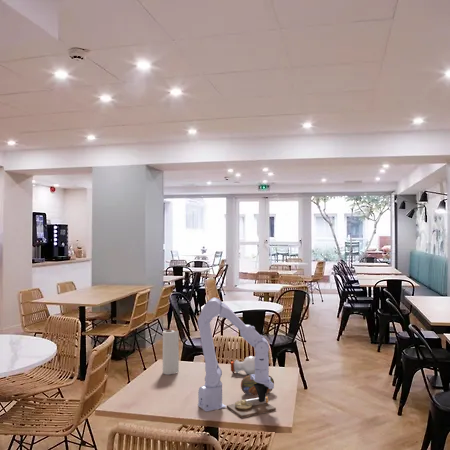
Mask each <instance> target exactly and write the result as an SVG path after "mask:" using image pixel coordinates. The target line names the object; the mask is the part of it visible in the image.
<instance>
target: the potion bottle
mask: <svg viewBox="0 0 450 450" xmlns="http://www.w3.org/2000/svg"><path fill="white" fill-rule="evenodd" d="M230 371H231V373H232V374H234V373H236V374H238V373H239V372H241V371H243V372H244V373H245V374H246V375H247V376H248V375H251V374H255V355H254V356H253V355H249V356H246V357H245V358H244V359H243V361H239V360H238V359H235V360H232V361H230Z"/></svg>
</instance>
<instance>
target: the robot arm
mask: <svg viewBox="0 0 450 450" xmlns="http://www.w3.org/2000/svg"><path fill="white" fill-rule="evenodd" d="M217 316H218V317H219V318H225V319H227V320H228V321H229V322H230V323H231V324H232V325H233V326H234V327H236V328H237V330H239V333H240V334H239V335H240V337H242V338H243V340H245V341H246V342H247V343H248V344H249V345H250V346H251V347H253V349H254V353H255V355H254V357H255V374H251V375H250V379H251V380H254V381H255V382H257V384H254V387H255V388H256V390H257V393H258V395H257V396H258V397H257V398H259V402H264V401H265V397H266V396H267V394H268V393H267V390H268V388H269V389H272V390H273V389H275V382H274V383H272V382H271V381H270V380H271V378H270V377H269V376H270V373H269V371H270V368H269V366H270V364H269V361H270V360H269V359H270V358H269V350H270V347H269V342H268V339H266V337H264V336H263V334H260V333H259V332H258V331H257V330H256V327H255V326H254V325H251V324H245V323H244V321H243V320H241V318H240V317H239V316H237V314H235V311H233V310H232V309H231V308H230V307H229V306H228V305H227V304H226V303H225V302H223V301H222V300H221V299H220V298H218V297H211V298H210V299H208V301H207V302H206V303H205V304H204V306H203V307H202V310H201V312H200V314H199V316H198V319H197V326H198V330H199V336H200V341H201V347H202V353H203V358H204V363H205V366H204V369H205V376H204V385H202V386H200V387H199V388H198V398H197V399H198V402H197V403H198V404H197V406H198V407H199V408H200V409H202V410H203V411H204V412H211V411H216V410H219V409H221V410H222V409H225V408H227V405H225V404H224V403H223V382H222V381H221V378H222V375H223V371H222V369H221V367H220V366H219V362H218V360H217V356H216V355H217V354H216V349H215V344H214V339H213V332H212V327H211V321H212V320H213V318H215V317H217ZM266 393H267V394H266Z"/></svg>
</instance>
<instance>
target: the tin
mask: <svg viewBox="0 0 450 450" xmlns="http://www.w3.org/2000/svg"><path fill="white" fill-rule="evenodd" d="M269 377H270V378H271V380H270V381H271V382H272V383H274V384H275V382H274V378H273V376H271V375H269ZM254 384H257V382H255V381H254V380H251V379H250V375H248V374H247V375H245V376H244V377H243V378H242V379H241V382H240V389H241V391H242V392H243V394H245V395H247V396H251V397H252V396H258V393H257V390H256V388H255V387H254ZM272 391H273V389H269V388H268V390H267V393H266V395H268V394H269V393H270V392H272Z"/></svg>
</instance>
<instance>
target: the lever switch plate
mask: <svg viewBox="0 0 450 450" xmlns="http://www.w3.org/2000/svg"><path fill="white" fill-rule="evenodd" d="M226 408H227V410H229V411H231V412H232V413H234V414H235V415H237V416H238V417H240V418H241V419H245V418H248V417H253V416H258V415H262V413H263V414H266V412H267V413H271V412H275V410H276V411H277V408H276V407H275V406H273V405H272V404H269V402H268V403H263V404H257V405H252V408H251V409H249V410H239V409H236V408H235V403H232V404H226Z"/></svg>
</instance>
